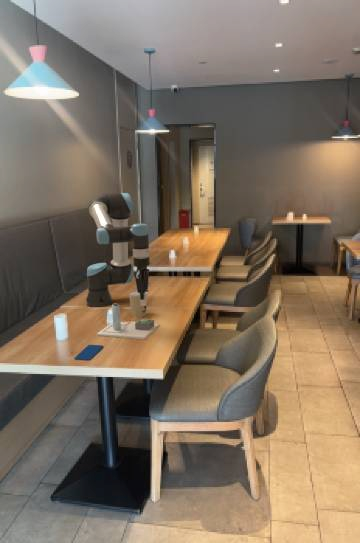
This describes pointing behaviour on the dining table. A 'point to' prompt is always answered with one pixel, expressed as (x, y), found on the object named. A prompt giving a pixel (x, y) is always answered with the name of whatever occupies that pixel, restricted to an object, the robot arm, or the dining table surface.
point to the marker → (116, 316)
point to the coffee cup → (136, 305)
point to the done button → (144, 320)
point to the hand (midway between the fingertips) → (143, 305)
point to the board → (130, 330)
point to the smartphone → (89, 352)
